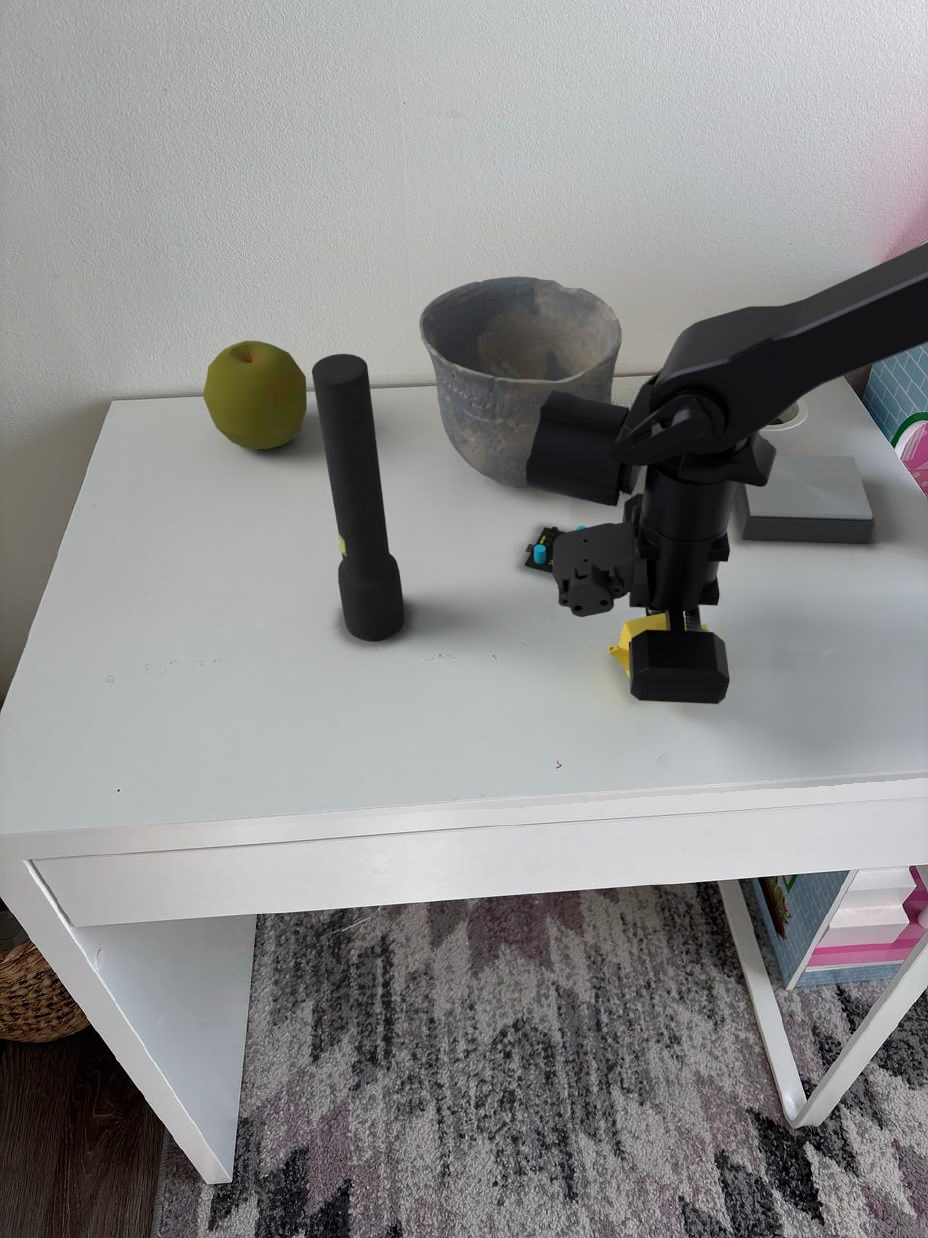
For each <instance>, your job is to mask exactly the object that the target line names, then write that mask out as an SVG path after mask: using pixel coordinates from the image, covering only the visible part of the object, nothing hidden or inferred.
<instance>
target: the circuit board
mask: <svg viewBox="0 0 928 1238" xmlns="http://www.w3.org/2000/svg"><path fill="white" fill-rule="evenodd" d="M587 527H588V526H585V525H579V526H577V527H576V529H575V530H579V529H583V528H587ZM566 532H567V531H564V530H563V531H562V530H559V528H558V527H557V526H552V527H551V528H550V527H547V526H544V527H543V529H542V531H541V532H540V535H539V537H538V539H537V540H536V543H535V544H531V543H528V545H527V547H526V549H524V550H525V551H524V552H527V553H529V555H528V557H527V559H526V560H525V562H524V567H527V568H530V569H534V570H538V571H542V572H545V573H550V574H553V572H552V570H553V543H554V541H555V539H556V538H557V537H558V536H560V535H561V534H563V533H566Z"/></svg>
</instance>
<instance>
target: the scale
mask: <svg viewBox="0 0 928 1238" xmlns="http://www.w3.org/2000/svg"><path fill="white" fill-rule="evenodd" d="M865 490H866V489H865V486H864V484H863V481H862V478H861V474H860V471H859V468H858V465H857V463H856V459H855V457H854V456H829V455H828V456H827V455H826V456H825V455H824V456H823V455H790V454H789V455H787V454H785V455H784V454H783V455H782V454H776V456H775V460H774V463H773V466H772V470H771V473H770V476H769V480H768V483H767V485H765V486H764V487H757V486H753V485H748V484H743V483H739V482H737V486H736V491H735V495H734V502H735V508H736V514H737V520H738V525H739V531H740V536H741V540H745V541H746V540H747V541H774V542H775V541H778V542H779V541H781V542H809V543H811V542H812V543H839V544H840V543H841V544H842V543H844V544H868V543H869V541H870V539H871V536H872V534H873V530H874V527H875V525H876V522H875V518H874V515H873V511H872V509H871V506H870V502H869V500H868V497H867V493H866V491H865Z"/></svg>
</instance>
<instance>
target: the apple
mask: <svg viewBox="0 0 928 1238" xmlns="http://www.w3.org/2000/svg"><path fill="white" fill-rule="evenodd" d="M307 395H308V394H307V377H306V375H305V373H304V372H303V370H302V369H301V368H300V366H299V365H298V364H297V362H296V360H295V359H294V357H293V356H292V355H291V353H290V352H288V351H286V350H284V349H282V348H280V347H278V346H277V345H274V344H271V343H268V342H263V341H259V340H243V341H241V342H237V343H234V344H232V345H230V346H228V347H225V348H224V349H223V350H222V351H220V353H218V354H217V356H216V357H215V358H214V359H213V360H212V361H211V363H210V364H209V365H208V366H207V374H206V380H205V384H204V389H203V393H202V398H203V400H204V403H205V405H206V407H207V410H208V413H209V416H210V418H211V421H212V422H213V424H214V426H215V428H216V429H217V430H218V431H219V432H220V433H221V434H222V435H223V436H224V437H226V439H228V440H229V441H230V443H232V444H235V445H237V446H239V447H242V448H246V449H251V450H266V449H272V448H276V447H280V446H283V445H286V444H287V443H289V442H290V441H291V440H294V438H295V437H296V436H297V435H298V433H299V432H300V430H301V427H302V425H303V422H304V419H305V416H306V413H307V410H308V409H307V407H308V403H307V402H308V399H307V397H308V396H307Z"/></svg>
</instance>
